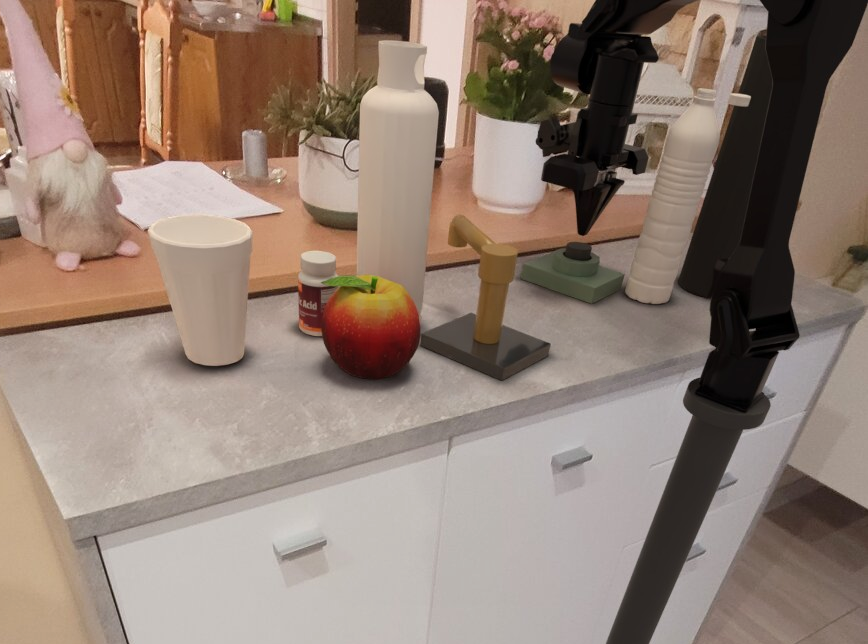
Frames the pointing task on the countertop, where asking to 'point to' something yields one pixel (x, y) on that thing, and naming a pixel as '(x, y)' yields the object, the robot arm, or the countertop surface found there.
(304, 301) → the pill bottle
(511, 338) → the tap base
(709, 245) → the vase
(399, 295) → the fruit
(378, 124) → the bottle
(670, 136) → the water bottle
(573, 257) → the dark round button
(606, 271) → the green button mount
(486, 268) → the spout
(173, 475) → the countertop surface
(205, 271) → the cup
